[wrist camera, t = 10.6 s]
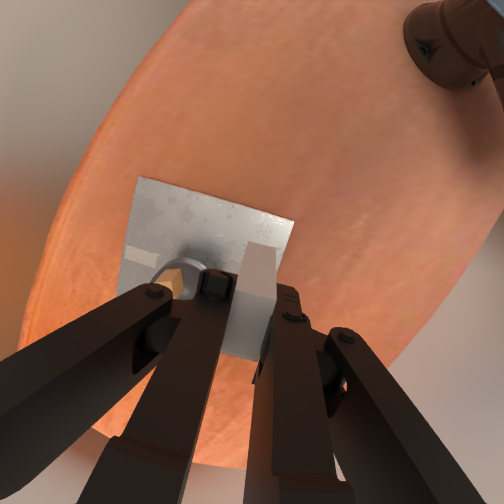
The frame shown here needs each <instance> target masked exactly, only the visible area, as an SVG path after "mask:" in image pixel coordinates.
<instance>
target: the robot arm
mask: <svg viewBox="0 0 504 504" xmlns="http://www.w3.org/2000/svg"><path fill="white" fill-rule="evenodd" d="M404 38H405V42H406V45H407V48H408V51H409V53H410V55H411V57H412V58H413V60H414V61H415V63H416V64H417V66H418V67H419V68H420V69H421V71H422V72H423V73H424V74H425V75H426V76H427V77H429V78H430V79H431V80H432V81H434V82H435V83H437V84H438V85H440V86H442V87H444V88H447V89H450V90H457V91H459V90H465V89H469V88H472V87H474V86H476V85H477V84H479V83H480V82H481V81H482V80H483V79H484V77H485V76H486V75H487V74H488V73H489V72H490V74H491V77H492V79H493V82H494V85H495V88H496V90H497V93H498V96H499V99H500V101H501V104H502V107H503V110H504V0H443V1H438V2H433V3H425V4H422V5H420V6H418V7H417V8H415V9H414V10H413V11H412V12H411V13H410V14H409V15H408V17H407V18H406V21H405V24H404ZM220 353H223V354H227V355H231V356H235V357H239V358H244V359H248V360H252V361H257V362H258V358H259V355H260V359H259V363H258V366H257V369H256V372H255V375H254V378H253V381H252V384H255V390H254V400H253V410H252V421H251V431H250V441H249V451H248V460H247V470H246V479H245V489H244V498H243V504H486V503H485V502H484V500H483V499H482V497H481V496H480V495H479V493H478V491H477V490H476V489H475V487H474V486H473V484H472V483H471V481H470V480H469V479H468V477H467V476H466V474H465V473H464V472H463V470H462V469H461V467H460V466H459V465H458V463H457V462H456V461H455V459H454V458H453V456H452V455H451V454H450V452H449V451H448V450H447V448H446V447H445V445H444V444H443V443H442V442H441V440H440V439H439V437H438V436H437V434H436V433H435V432H434V431H433V429H432V428H431V427H430V425H429V424H428V422H427V421H426V420H425V419H424V417H423V416H422V414H421V413H420V412H419V411H418V409H417V408H416V407H415V405H414V404H413V403H412V401H411V400H410V399H409V397H408V396H407V395H406V393H405V392H404V391H403V389H402V388H401V387H400V386H399V384H398V383H397V382H396V380H395V379H394V378H393V376H392V375H391V374H390V373H389V371H388V370H387V369H386V367H385V366H384V365H383V364H382V362H381V361H380V360H379V359H378V357H377V356H376V355H375V353H374V352H373V351H372V350H371V348H370V347H369V346H368V345H367V343H366V342H365V341H364V340H363V338H362V337H361V336H360V335H359V334H357V333H356V332H354V331H353V330H351V329H348V328H342V327H334V328H332V329H331V330H330V332H329V334H328V335H325V334H323V333H320V332H318V331H316V330H314V329H312V328H311V324H310V320H309V318H308V316H306V315H305V314H304V313H302V310H301V304H300V299H299V293H298V292H297V291H296V290H295V288H294V287H290V286H286V285H282V284H278V283H276V248H275V247H271V246H267V245H263V244H259V243H255V242H251V241H248V244H247V247H246V251H245V254H244V257H243V261H242V264H241V268H240V271H239V275H238V274H234V273H230V272H226V271H223V270H218V269H204V270H202V271H200V274H199V279H198V284H197V290H196V294H195V295H194V297H193V299H189V300H179V299H173V292H172V290H171V289H170V288H168V287H166V286H164V285H161V284H159V283H144V284H141V285H139V286H137V287H135V288H133V289H131V290H129V291H127V292H125V293H123V294H122V295H120V296H118V297H116V298H114V299H112V300H110V301H109V302H107V303H105V304H103V305H101V306H99V307H97V308H96V309H94V310H92V311H90V312H88V313H86V314H85V315H83V316H81V317H79V318H77V319H75V320H74V321H72V322H70V323H68V324H66V325H64V326H63V327H61V328H59V329H57V330H55V331H54V332H52V333H50V334H48V335H46V336H45V337H43V338H41V339H39V340H38V341H36V342H34V343H32V344H30V345H29V346H27V347H25V348H23V349H22V350H20V351H18V352H16V353H14V354H13V355H11V356H9V357H7V358H6V359H4V360H3V361H1V362H0V500H2V499H5V498H6V497H8V496H10V495H12V494H13V493H15V492H17V491H19V490H20V489H22V488H23V487H24V486H25V485H27V484H28V483H29V482H31V481H32V480H33V479H34V478H35V477H36V476H37V475H39V473H41V472H42V471H43V470H44V469H45V468H46V467H47V466H49V465H50V464H51V463H52V462H53V461H54V460H55V459H56V458H57V457H59V456H60V455H61V454H62V453H63V452H64V451H65V450H66V449H67V448H68V447H69V446H70V445H72V444H73V443H74V442H75V441H76V440H77V439H78V438H79V437H80V436H82V435H83V434H84V433H85V432H86V431H87V430H88V429H89V428H90V427H91V426H92V425H94V424H95V423H96V422H97V421H98V420H99V419H100V418H101V417H102V416H103V415H104V414H105V413H107V412H108V411H109V410H110V409H111V408H112V407H113V406H114V405H115V404H116V403H117V402H118V401H119V400H120V399H122V398H123V397H124V396H125V395H126V394H127V393H128V392H129V391H130V390H131V389H132V388H133V387H134V386H135V385H137V384H138V383H139V382H140V381H141V380H142V379H143V378H144V377H145V376H146V375H147V374H148V373H149V372H150V371H151V370H152V369H154V368H155V367H156V366H157V367H156V369H155V371H154V372H153V374H152V376H151V378H150V380H149V382H148V384H147V386H146V388H145V390H144V392H143V394H142V396H141V398H140V400H139V402H138V404H137V406H136V408H135V410H134V412H133V413H132V415H131V417H130V419H129V421H128V423H127V425H126V427H125V429H124V431H123V433H122V435H121V436H120V437H117V436H113V437H112V438H110V440H109V442H108V443H107V445H106V447H105V448H104V450H103V452H102V454H101V456H100V458H99V460H98V462H97V464H96V465H95V468H94V469H93V471H92V473H91V475H90V477H89V479H88V482H87V483H86V485H85V487H84V489H83V491H82V493H81V495H80V497H79V499H78V501H77V503H76V504H181V502H182V498H183V494H184V490H185V486H186V482H187V478H188V474H189V471H190V467H191V463H192V459H193V455H194V451H195V447H196V443H197V439H198V436H199V432H200V428H201V424H202V420H203V416H204V412H205V409H206V405H207V401H208V397H209V393H210V389H211V386H212V382H213V378H214V374H215V370H216V366H217V363H218V359H219V354H220ZM345 382H347V391H345V389H344V387H343V385H344V384H345ZM333 453H334V455H335V457H336V459H337V462H338V464H339V466H340V468H341V471H342V473H343V475H344V477H345V479H346V481H339V479H338V478H337V474H336V468H335V461H334V455H333Z"/></svg>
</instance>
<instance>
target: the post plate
mask: <svg viewBox="0 0 504 504" xmlns="http://www.w3.org/2000/svg"><path fill="white" fill-rule="evenodd" d="M293 224H294V221H293V220H291V219H288V218H285V217H281V216H278V215H275V214H272V213H269V212H266V211H262V210H259V209H256V208H253V207H249V206H246V205H243V204H239V203H236V202H233V201H229V200H226V199H223V198H219V197H216V196H212V195H209V194H205V193H202V192H199V191H195V190H192V189H188V188H184V187H181V186H177V185H174V184H170V183H167V182H163V181H159V180H156V179H152V178H148V177H144V176H138V180H137V184H136V188H135V193H134V197H133V202H132V206H131V211H130V216H129V221H128V226H127V231H126V237H125V242H124V248H123V254H122V260H121V266H120V272H119V279H118V286H117V294H116V297H118V296H120V295H122V294H123V293H125V292H127V291H129V290H131V289H133V288H135V287H137V286H139V285H141V284H144V283H150V281H151V279H152V278H153V277H154V276H155V274H156V273H157V272H158V271H159V270H160V269H161V268H162V267H163V266H164V265H165V264H166V263H167V262H169V261H170V260H173V259H176V258H190V259H194V260H196V261H198V262H200V263H201V264H203V265H204V266H205V267H206V268H207V269H218V270H223V271H226V272H230V273H234V274H238V275H239V271H240V268H241V264H242V261H243V257H244V254H245V251H246V247H247V244H248V241H251V242H255V243H259V244H263V245H267V246H271V247H275V248H276V273H277V271H278V268H279V265H280V262H281V259H282V256H283V253H284V250H285V248H286V245H287V242H288V239H289V236H290V233H291V230H292V227H293Z"/></svg>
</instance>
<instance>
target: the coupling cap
mask: <svg viewBox="0 0 504 504" xmlns="http://www.w3.org/2000/svg"><path fill="white" fill-rule="evenodd" d="M204 269H207V268H206V267H205V266H204V265H203V264H201V263H200V262H198V261H196V260H194V259H190V258H176V259H173V260H170V261H169V262H167V263H166V264H165V265H164V266H163V267H162V268H161V269H160V270H159V271H158V272H157V273H156V274H155V276H154V277H153V278H152V279H151V281H150V283H159V284H161V285H164V286H166V287H168V288H170V289H171V290H172V292H173V299H179V300H189V299H193V297H194V295H195V294H196V290H197V284H198V279H199V274H200V271H202V270H204Z"/></svg>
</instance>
